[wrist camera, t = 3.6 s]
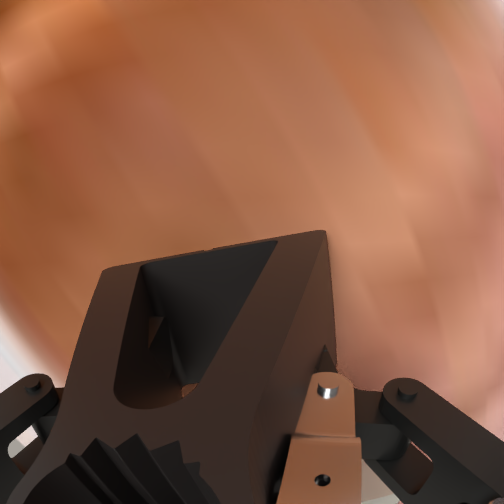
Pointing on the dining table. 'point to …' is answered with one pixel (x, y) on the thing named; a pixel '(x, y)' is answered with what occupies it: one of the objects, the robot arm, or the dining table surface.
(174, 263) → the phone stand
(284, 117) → the dining table surface
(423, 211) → the dining table surface
